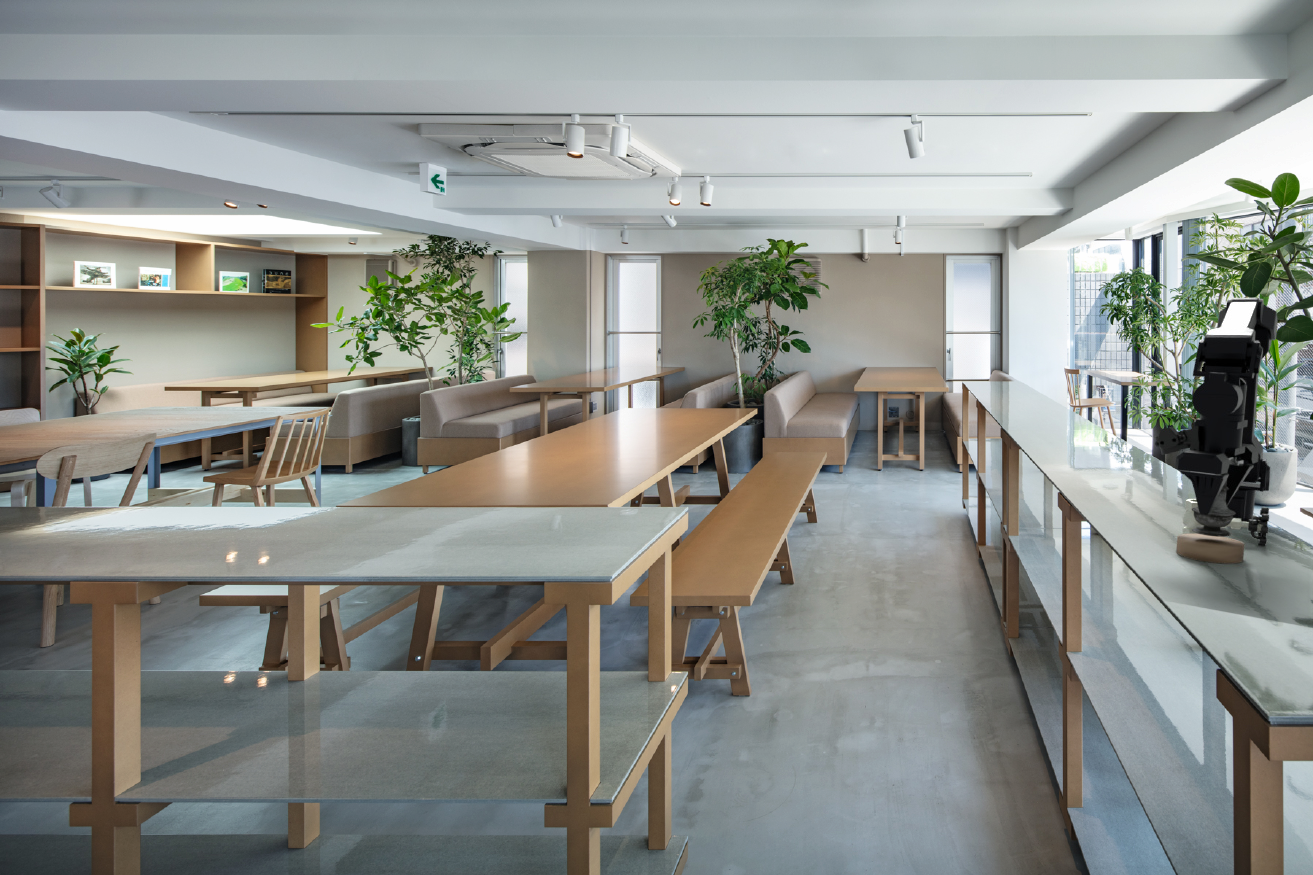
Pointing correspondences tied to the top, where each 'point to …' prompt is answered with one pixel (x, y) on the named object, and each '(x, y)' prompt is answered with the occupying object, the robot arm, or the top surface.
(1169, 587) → the top surface
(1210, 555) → the tan round disc
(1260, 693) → the top surface
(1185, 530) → the valve
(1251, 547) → the top surface
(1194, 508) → the salt shaker
